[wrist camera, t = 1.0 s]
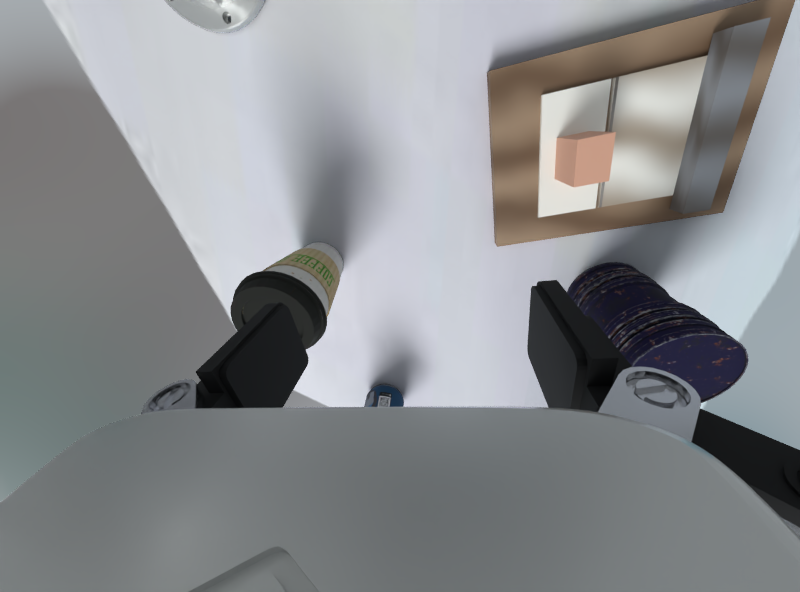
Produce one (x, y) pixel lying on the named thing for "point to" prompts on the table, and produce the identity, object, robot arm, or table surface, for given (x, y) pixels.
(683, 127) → the board
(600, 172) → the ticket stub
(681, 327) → the storage jar
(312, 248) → the coffee cup
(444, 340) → the table surface
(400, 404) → the soda can
